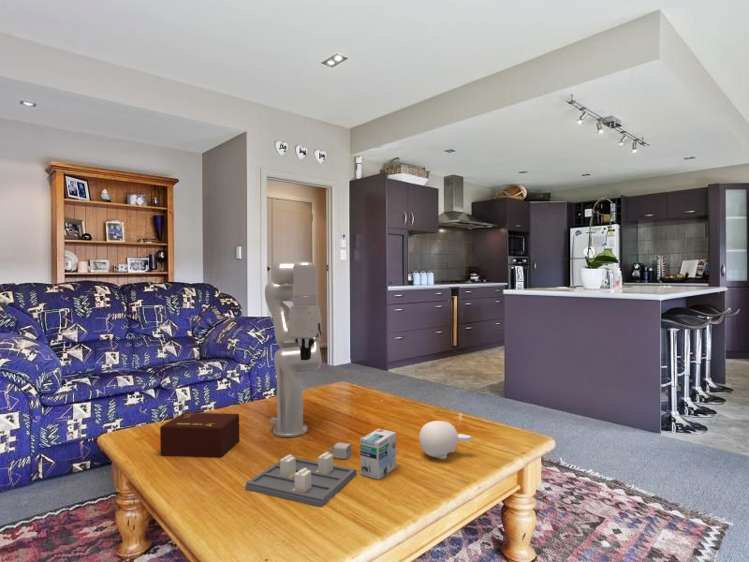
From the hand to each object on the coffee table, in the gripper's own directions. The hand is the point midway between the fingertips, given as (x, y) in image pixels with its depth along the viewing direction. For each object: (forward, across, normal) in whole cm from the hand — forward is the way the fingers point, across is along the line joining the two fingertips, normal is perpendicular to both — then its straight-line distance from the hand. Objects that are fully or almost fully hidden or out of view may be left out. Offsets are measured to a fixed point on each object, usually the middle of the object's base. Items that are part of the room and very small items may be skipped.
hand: (305, 359), depth 141 cm
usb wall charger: (+32, +8, +7) cm, 34 cm away
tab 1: (+31, +2, -13) cm, 33 cm away
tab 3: (+31, +11, -7) cm, 33 cm away
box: (+32, -39, -4) cm, 51 cm away
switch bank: (+32, +7, -13) cm, 35 cm away
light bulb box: (+32, +24, +2) cm, 40 cm away
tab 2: (+30, +11, -19) cm, 38 cm away
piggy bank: (+32, +39, +21) cm, 55 cm away
